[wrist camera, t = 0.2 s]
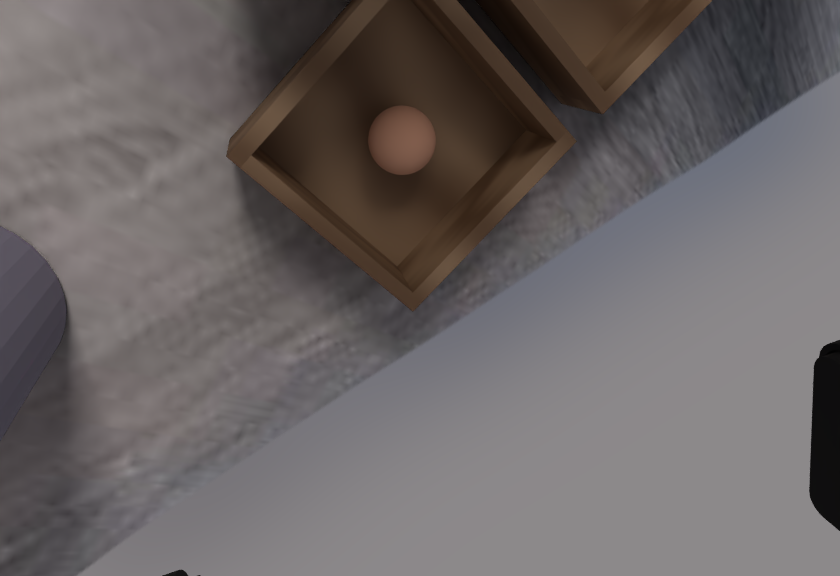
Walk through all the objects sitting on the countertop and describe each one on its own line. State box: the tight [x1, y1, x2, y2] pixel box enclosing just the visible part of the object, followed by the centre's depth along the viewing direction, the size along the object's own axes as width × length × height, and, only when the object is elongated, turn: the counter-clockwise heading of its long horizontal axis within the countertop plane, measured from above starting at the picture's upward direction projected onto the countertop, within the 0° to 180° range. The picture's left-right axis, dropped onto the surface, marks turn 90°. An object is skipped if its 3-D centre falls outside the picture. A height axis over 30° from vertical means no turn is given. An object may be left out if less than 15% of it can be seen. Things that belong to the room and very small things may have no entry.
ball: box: [368, 105, 436, 175], centre depth 34 cm, size 4×4×4 cm
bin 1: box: [226, 0, 577, 311], centre depth 34 cm, size 13×13×5 cm
